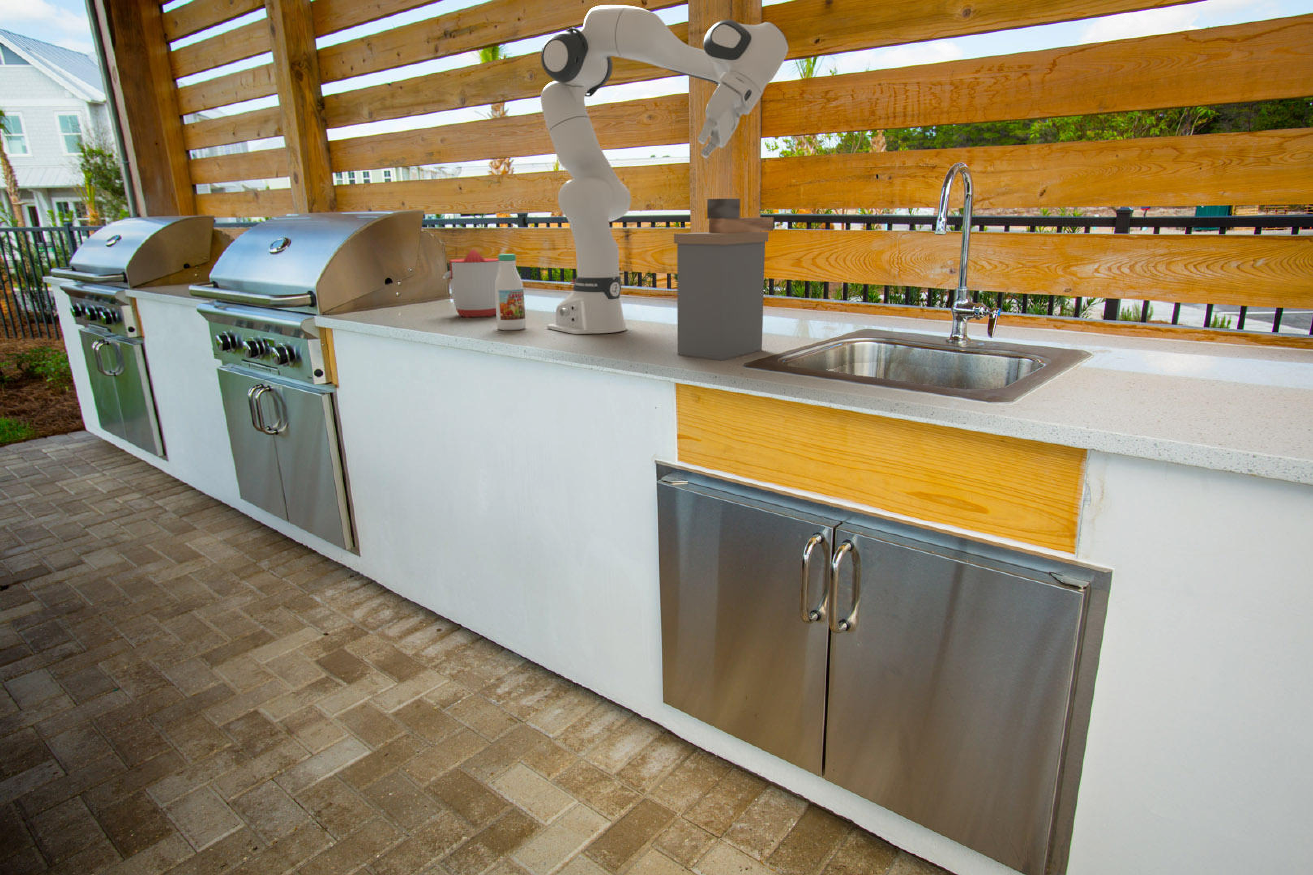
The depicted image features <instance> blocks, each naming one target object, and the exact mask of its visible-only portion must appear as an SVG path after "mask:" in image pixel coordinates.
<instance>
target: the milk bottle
mask: <svg viewBox="0 0 1313 875" xmlns="http://www.w3.org/2000/svg"><path fill="white" fill-rule="evenodd" d="M497 259H499V265H500V268H499V272H498V275H497V278H496V281H495V301H496V314H495V315H496V325H497V326H496V328H497V329H498V330H502V331H519V330H523V329H525V328H526V326H527V325H526V323H527V322H526V312H525V311H526V310H525V309H526V306H525V294H524V292H525V291H524V285H523V281H522V277H521V275H520V274H519V271H518V270H517V267H516V266H517V265H516V263H517V256H516V254H515V253H500V254H498V255H497Z"/></svg>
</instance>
